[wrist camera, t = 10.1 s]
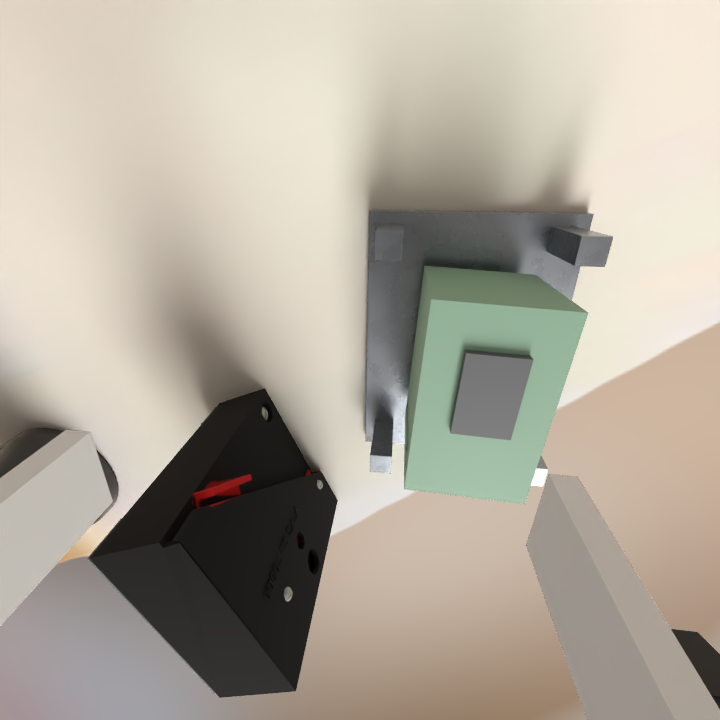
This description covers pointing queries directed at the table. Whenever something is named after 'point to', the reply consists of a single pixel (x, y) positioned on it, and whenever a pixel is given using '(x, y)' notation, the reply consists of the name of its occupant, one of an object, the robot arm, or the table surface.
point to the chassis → (452, 250)
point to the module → (485, 381)
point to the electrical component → (228, 550)
